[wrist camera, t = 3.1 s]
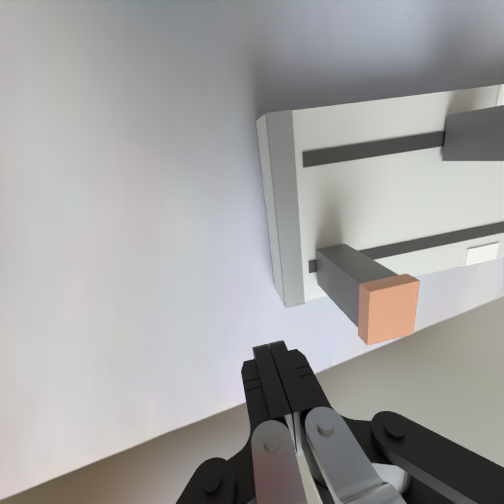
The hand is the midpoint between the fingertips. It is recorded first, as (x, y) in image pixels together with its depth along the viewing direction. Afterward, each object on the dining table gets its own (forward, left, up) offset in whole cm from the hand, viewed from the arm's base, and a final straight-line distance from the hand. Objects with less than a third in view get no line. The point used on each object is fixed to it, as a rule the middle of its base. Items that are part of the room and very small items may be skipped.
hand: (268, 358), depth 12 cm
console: (-4, +14, -11) cm, 18 cm away
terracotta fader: (0, +7, -7) cm, 10 cm away
